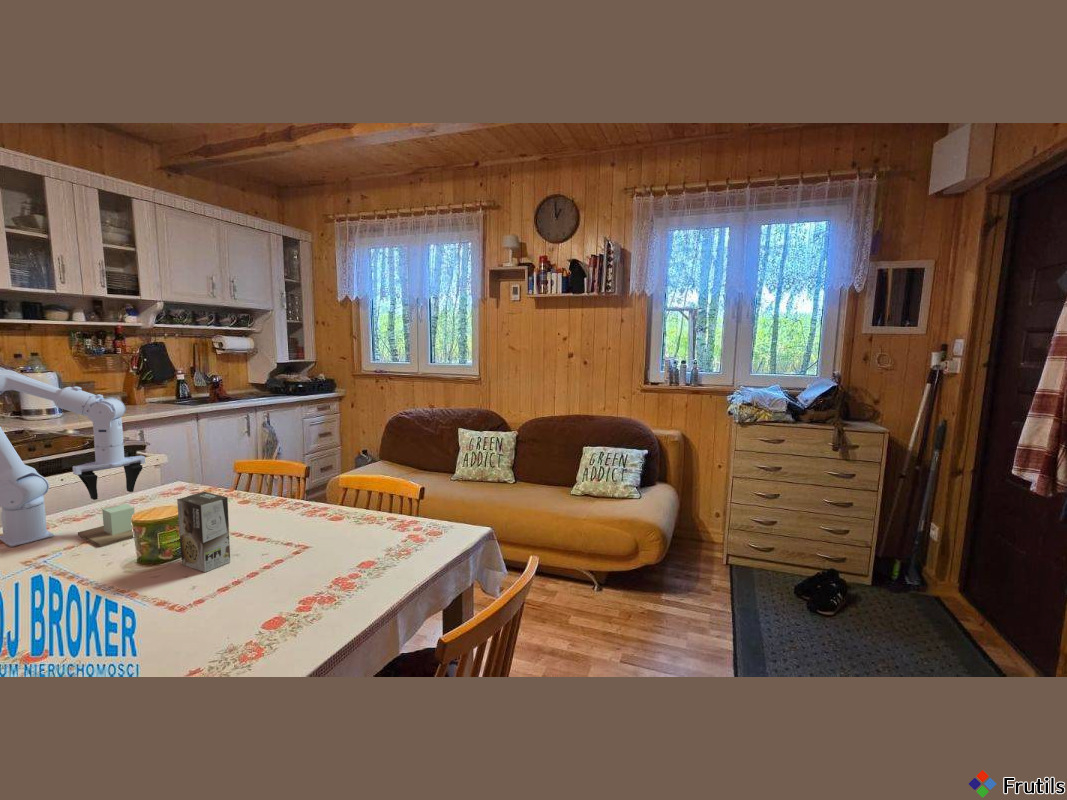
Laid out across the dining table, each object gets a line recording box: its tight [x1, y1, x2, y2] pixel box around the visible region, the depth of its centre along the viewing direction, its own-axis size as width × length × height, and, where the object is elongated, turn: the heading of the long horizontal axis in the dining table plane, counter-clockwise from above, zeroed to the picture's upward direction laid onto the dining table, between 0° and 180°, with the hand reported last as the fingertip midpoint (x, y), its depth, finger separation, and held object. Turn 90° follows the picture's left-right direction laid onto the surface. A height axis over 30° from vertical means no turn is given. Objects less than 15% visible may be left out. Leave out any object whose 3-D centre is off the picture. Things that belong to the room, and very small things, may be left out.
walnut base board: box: [77, 525, 134, 548], centre depth 128 cm, size 13×13×1 cm
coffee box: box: [176, 491, 231, 573], centre depth 113 cm, size 9×6×16 cm
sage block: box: [101, 503, 136, 535], centre depth 128 cm, size 5×5×6 cm
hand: (112, 495), depth 127 cm, fingers open, 7 cm apart
